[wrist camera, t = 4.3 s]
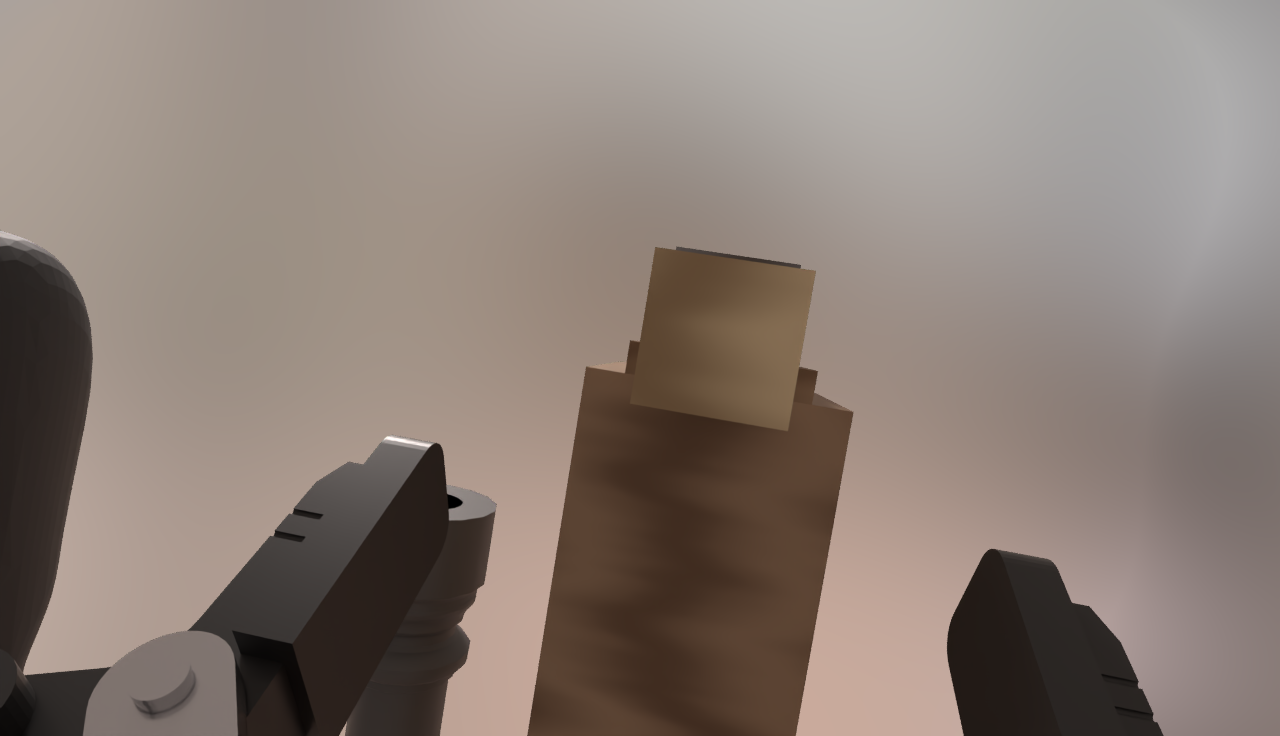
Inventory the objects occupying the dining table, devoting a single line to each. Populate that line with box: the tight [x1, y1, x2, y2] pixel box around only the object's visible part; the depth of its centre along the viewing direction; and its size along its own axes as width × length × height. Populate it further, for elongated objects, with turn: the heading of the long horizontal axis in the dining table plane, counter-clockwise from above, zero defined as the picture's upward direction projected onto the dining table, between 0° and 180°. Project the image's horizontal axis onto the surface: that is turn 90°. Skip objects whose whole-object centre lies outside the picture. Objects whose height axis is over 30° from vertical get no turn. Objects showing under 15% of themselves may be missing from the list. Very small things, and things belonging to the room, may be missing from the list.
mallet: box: [630, 247, 816, 431], centre depth 22 cm, size 5×19×5 cm, turn 173°
